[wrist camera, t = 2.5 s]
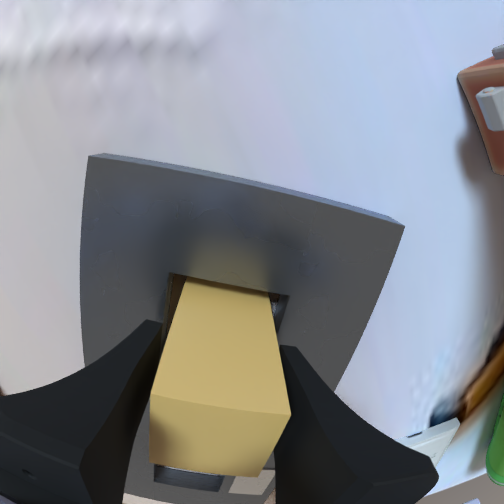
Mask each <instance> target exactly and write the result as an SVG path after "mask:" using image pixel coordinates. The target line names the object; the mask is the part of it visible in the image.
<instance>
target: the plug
mask: <svg viewBox="0 0 504 504" xmlns="http://www.w3.org/2000/svg"><path fill="white" fill-rule="evenodd" d="M290 416H291V411H290V406H289V400H288V395H287V389H286V384H285V379H284V373H283V368H282V363H281V357H280V352H279V347H278V342H277V336H276V331H275V326H274V321H273V315H272V310H271V305H270V300H269V295H268V292H267V291H261V290H256V289H251V288H245V287H240V286H235V285H230V284H225V283H220V282H215V281H210V280H205V279H200V278H195V277H191V276H187V279H186V281H185V284H184V287H183V290H182V293H181V296H180V299H179V302H178V306H177V309H176V312H175V315H174V318H173V321H172V324H171V327H170V330H169V334H168V337H167V340H166V343H165V346H164V350H163V353H162V356H161V360H160V363H159V366H158V370H157V373H156V376H155V380H154V383H153V387H152V390H151V394H150V423H149V462H150V463H155V464H159V465H164V466H169V467H174V468H180V469H186V470H192V471H198V472H205V473H213V474H221V475H231V476H242V477H256V478H258V476H259V474H260V473H261V471H262V469H263V467H264V466H265V464H266V462H267V460H268V458H269V456H270V455H271V453H272V451H273V449H274V447H275V445H276V443H277V442H278V440H279V438H280V436H281V434H282V432H283V430H284V428H285V426H286V424H287V422H288V420H289V418H290Z"/></svg>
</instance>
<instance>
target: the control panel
mask: <svg viewBox="0 0 504 504" xmlns="http://www.w3.org/2000/svg"><path fill="white" fill-rule="evenodd" d="M492 53H493V55H494V56H493V57H490V58H488V59H486V60H484V61H481V62H479V63H477V64H475V65H473V66H470V67H468V68H466V69H464V70H462V71H460V72H459V73H458V75H457V76H458V80H459V82H460V84H461V86H462V88H463V91H464V93H465V95H466V97H467V100H468V102H469V104H470V107H471V109H472V112H473V114H474V117H475V119H476V122H477V125H478V127H479V130H480V133H481V136H482V139H483V142H484V145H485V148H486V151H487V154H488V157H489V160H490V163H491V167H492V170H493V172H494V173H495V174H499V175H503V176H504V44H503V45H500V46H498V47H495V48H493V50H492Z"/></svg>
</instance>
